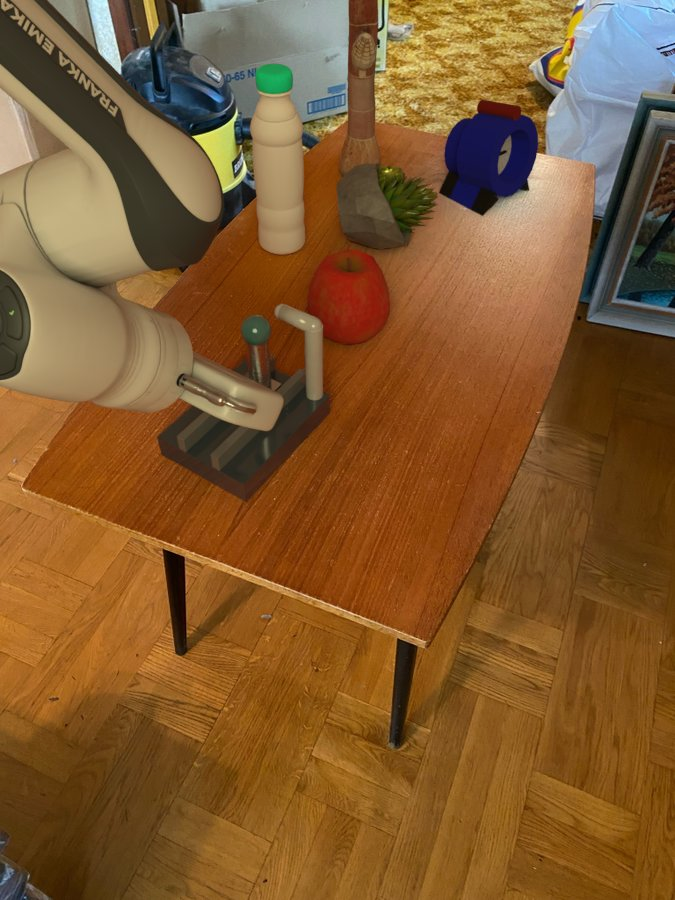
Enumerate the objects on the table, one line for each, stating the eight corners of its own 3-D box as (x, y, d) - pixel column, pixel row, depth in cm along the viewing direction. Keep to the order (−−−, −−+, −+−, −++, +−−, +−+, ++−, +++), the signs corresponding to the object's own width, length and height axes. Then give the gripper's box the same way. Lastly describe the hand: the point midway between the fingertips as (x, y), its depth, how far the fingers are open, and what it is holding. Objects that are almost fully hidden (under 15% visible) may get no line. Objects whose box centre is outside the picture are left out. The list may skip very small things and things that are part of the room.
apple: (327, 294, 100) (327, 225, 92) (400, 313, 97) (406, 244, 89) (294, 339, 93) (291, 269, 85) (372, 361, 90) (376, 291, 82)
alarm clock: (485, 217, 114) (503, 122, 103) (429, 188, 120) (440, 95, 109) (533, 192, 119) (554, 100, 108) (477, 165, 125) (492, 75, 114)
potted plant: (346, 187, 113) (440, 169, 109) (353, 267, 112) (448, 251, 108) (324, 156, 101) (429, 134, 97) (331, 245, 101) (437, 226, 97)
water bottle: (308, 232, 110) (305, 59, 92) (302, 258, 106) (297, 81, 87) (263, 229, 111) (250, 56, 92) (255, 255, 106) (240, 78, 87)
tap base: (161, 454, 79) (136, 360, 69) (249, 374, 88) (239, 280, 78) (246, 502, 75) (233, 409, 65) (330, 413, 84) (330, 318, 74)
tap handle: (240, 403, 81) (230, 322, 72) (261, 383, 83) (254, 302, 74) (262, 414, 80) (255, 333, 71) (283, 394, 82) (279, 313, 73)
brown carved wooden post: (346, 157, 127) (351, -42, 104) (386, 163, 126) (399, -37, 103) (329, 185, 120) (330, -21, 98) (371, 192, 119) (382, -15, 96)
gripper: (250, 371, 56) (319, 391, 69) (68, 284, 63) (161, 316, 76) (220, 444, 57) (294, 450, 70) (43, 349, 64) (139, 371, 77)
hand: (223, 380), depth 73 cm, fingers closed
